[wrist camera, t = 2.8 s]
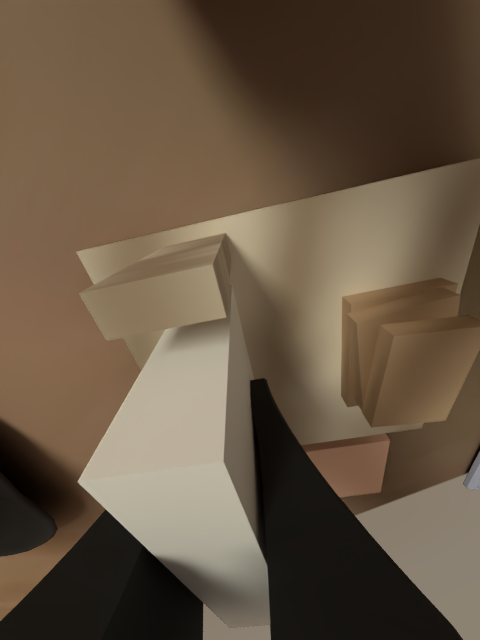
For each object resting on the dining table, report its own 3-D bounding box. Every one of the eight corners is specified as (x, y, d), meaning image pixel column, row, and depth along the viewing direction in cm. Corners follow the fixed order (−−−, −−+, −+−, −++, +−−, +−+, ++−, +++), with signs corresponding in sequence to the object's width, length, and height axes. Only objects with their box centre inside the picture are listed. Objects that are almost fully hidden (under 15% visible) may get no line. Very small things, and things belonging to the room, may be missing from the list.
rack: (469, 160, 8) (947, 63, 3) (410, 414, 14) (514, 537, 9) (91, 247, 9) (-111, 303, 4) (192, 446, 15) (170, 571, 10)
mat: (384, 432, 15) (390, 440, 15) (376, 484, 18) (380, 492, 18) (218, 455, 16) (217, 464, 16) (237, 501, 19) (237, 509, 19)
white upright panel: (232, 284, 9) (224, 461, 3) (264, 425, 13) (291, 623, 7) (185, 294, 9) (77, 481, 3) (232, 430, 13) (229, 628, 7)
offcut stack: (440, 277, 9) (504, 299, 7) (416, 383, 12) (456, 422, 10) (338, 297, 9) (369, 324, 7) (337, 395, 12) (360, 436, 10)
